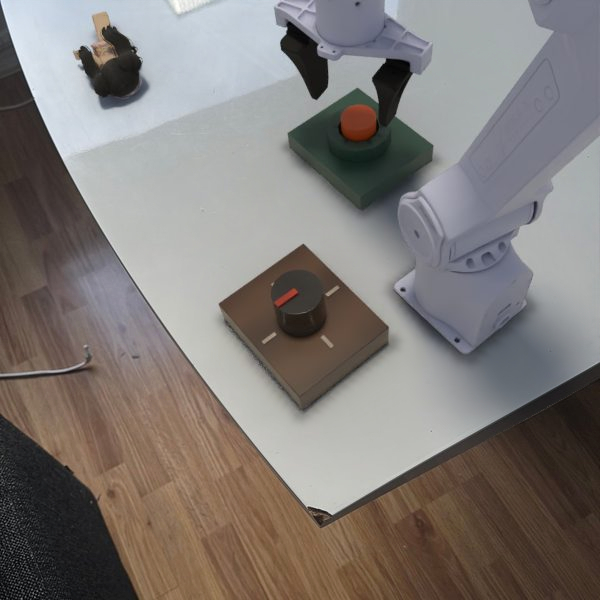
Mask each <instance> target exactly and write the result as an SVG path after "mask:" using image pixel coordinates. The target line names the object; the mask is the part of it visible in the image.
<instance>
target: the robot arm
mask: <svg viewBox="0 0 600 600" xmlns="http://www.w3.org/2000/svg"><path fill="white" fill-rule="evenodd" d="M527 1H528V5H529V7H530V11H531V14H532V16H533V19H534V23H535V24H536V26H537V27H540V28H543V29H546V30H549V31H553V32H552V33H551V34H550V36H549V37H548V39H547V40H546V41H545V43H544V44H543V45H542V47H541V48H540V49H539V51H538V53H537V54H536V55H535V56H534V57H533V59H532V60H531V62H530V63H529V65H528V66H527V67H526V69H525V70H524V71H523V73H522V74H521V76H519V78H518V80H517V81H516V82H515V84H514V85H513V87H512V88H511V89H510V91H509V92H508V94H507V95H506V96H505V98H504V99H503V100H502V102H501V103H500V104H499V106H498V107H497V108H496V109H495V111H494V112H493V114H492V115H491V117H490V118H489V120H487V122H486V124H485V125H484V126H483V128H482V129H481V130H480V131H479V133H478V134H477V136H476V137H475V138H474V140H473V141H472V143H471V144H470V145H469V146H468V148H467V150H466V151H465V152H464V153H463V155H462V156H461V157H460V159H459V160H458V161H457V162H456V163H455V164H454V165H452V166H450V167H449V168H447V169H446V170H445V171H443V172H442V173H440V174H439V175H437V176H436V177H434V178H433V179H431V180H430V181H427V183H425V184H424V185H422V186H421V187H420V188H419V189H417V190H415V191H408V192H405V193H404V194H403V195H401V197H400V198H399V202H398V208H397V221H398V225H399V229H400V232H401V234H402V237H403V239H404V241H405V243H406V245H407V247H408V248H409V250H410V251H411V253H412V254H413V255H414V256H415V258H416V260H415V261H416V263H415V267H414V269H412V270H411V271H410V272H408V273H406V275H404V276H403V277H402V278H401V279H399V280H398V281H396V282H395V283H394V285H393V290H394V291H395V292H396V294H397V295H399V296H400V297H401V298H402V299H403V300H404V301H405V302H406V303H407V304H408V305H409V306H411V308H412V309H414V310H415V311H416V312H417V313H418V314H419V315H420V316H421V317H422V318H423V319H424V320H425V321H427V323H428V324H429V325H431V327H432V328H434V329H435V330H436V331H437V332H438V333H439V334H440V335H441V336H442V337H443V338H444V339H446V341H448V343H449V344H451V345H452V346H453V347H454V348H455V349H456V350H457V351H459V353H460V354H462V355H469V354H470V353H472V352H473V351H475V349H476V348H477V347H479V346H480V345H481V344H483V343H484V342H485V341H486V340H487V339H488V338H490V337H491V336H492V335H493V334H494V333H496V332H497V331H498V330H500V329H501V328H502V327H504V325H506V324H507V323H508V322H509V321H510V320H511V319H512V318H514V317H515V316H516V315H517V314H519V313H520V312H522V310H523V309H525V308H526V306H527V300H526V297H527V294H528V291H529V289H530V286H531V284H532V281H533V278H534V271H533V270H532V269H531V268H530V267H529V266H528V265H527V264H526V262H524V261H523V259H521V257H520V255H519V254H518V253H517V251H516V250H515V248H514V246H513V243H512V240H513V239H515V238H516V237H518V235H519V231H520V229H521V227H523V226H526V225H531V224H533V223H534V222H536V221H538V219H539V218H540V217H541V215H542V212H543V207H544V202H545V200H546V198H547V196H548V195H549V194H551V193H552V192H553V191H554V189H555V187H554V184H553V180H552V179H553V178H554V177H556V175H557V174H558V173H560V171H562V170H563V169H564V168H566V167H567V166H568V164H570V163H571V162H572V161H573V160H574V159H575V158H576V157H578V156H579V155H580V154H582V152H583V151H585V150H586V149H587V148H588V147H589V146H590V145H591V144H592V143H593V142H594V141H596V140H597V139H598V138H599V137H600V0H527ZM385 3H386V0H278V2H277V3H276V4H275V5H274V6H273V10H274V17H275V24H276V26H278V27H281V28H286V30H285V34H284V36H282V38H281V39H280V41H279V45H280V46H279V47H280V51H281V52H282V53H283V54H285V56H287V57H288V59H289V60H290V61H291V62H292V64H293V65H294V66H295V68H296V69H297V71H298V73H299V74H300V76H301V78H302V80H303V82H304V84H305V87H306V89H307V91H308V93H309V95H310V97H311V99H313V100H315V101H318V100H319V99H320V97H321V96H322V95H323V94H324V93H325V91H326V90H327V89H328V87H329V78H330V76H329V75H330V73H329V60H330V61H331V62H332V61H333V62H335V61H339V60H340V59H341V58H342V57H343V56H350V57H351V56H352V57H365V58H375V59H385V62H383V63H382V64H381V66H380V67H379V68H378V70H377V71H376V72H375V73H374V74H373V75H372V77H371V82H372V84H373V86H374V89H375V92H376V94H377V100H378V102H377V103H379V110H378V119H379V124H380V125H382V126H384V127H387V126H388V124H389V123H390V122H391V120H392V119H393V118H394V116H396V115H397V113H398V109H399V104H400V102H401V99H402V97H403V94H404V91H405V89H406V87H407V86H408V83H409V81H410V80H411V77H413V74H416V75H418V76H421V75H422V74H423V73H424V72H425V71H426V69H427V68H428V67H429V65H430V64H431V62H432V58H433V48H434V47H433V46H434V42H433V41H431V40H428V39H426V38H423V37H421V36H420V35H418V34H416V33H414V32H413V31H411V30H410V29H409V28H407V27H406V26H404V25H403V24H402V23H400V22H399V21H397V20H396V19H395V18H394V17H392V16H391V15H389V14H388V13H386V12H385V11H386V9H385V6H386V4H385ZM402 290H404V291H402ZM455 340H457V341H459V342H457V341H455Z"/></svg>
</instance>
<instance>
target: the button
mask: <svg viewBox="0 0 600 600" xmlns="http://www.w3.org/2000/svg"><path fill="white" fill-rule="evenodd" d="M341 131H342V134H343V136H344V137H345V138H346V139H348V140H350V141H354V142H361V141H366V140H368V139H370V138H371V137H372V136H373V135H374V134H375V132H376V114H375V112H374V110H373V109H372V108H370V107H368V106H365V105H353V106H350V107H348V108H347V109H345V110H344V111H343V113H342V115H341Z"/></svg>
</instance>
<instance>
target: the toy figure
mask: <svg viewBox="0 0 600 600" xmlns="http://www.w3.org/2000/svg"><path fill="white" fill-rule="evenodd" d="M91 19H92V22H93V25H94V26H93V27H94V29H95V32H96V37H97V41H98V42H95V43H92V44H91V45H90V47H91V49H92V50H91V49H90V47H88V46H87V45H84V44H83V45H80V47H79V49H77V50H75V49H73V50H72V54H73V56H74V57H75V60H76V61H81V66H82V69H83V70H84V73H85V75H86V76H87V77H89V78H90V79H91V80H92V82H91V84H92V86H93V90H94V93H95V94H96V95H98V98H100V99H104V98H108V97H109V96H112V97H115V98H118V99H122V100H125V99H128V98H130V97H131V96H132V95H134V94H135V93H136V92H138V90H140V88H141V86H142V82H143V81H142V76H141V74H140V70H141V69H142V65H143V58H142V57H141V56H139V55H138V54H137V52H138V50H139V49H138V47H136V46H135V45H134V44H133V42H131V39H130V38H129V37H128V36H126V35H124V33H122V32H120V31H119V30H118V28H117V27H116V26H115V25H112V24H111V20H110V18H109V14H108V12H107V11H102V12H101V11H100V12H98V13H94V14H92V15H91ZM92 51H93V52H92Z"/></svg>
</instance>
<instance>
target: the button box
mask: <svg viewBox="0 0 600 600" xmlns="http://www.w3.org/2000/svg"><path fill="white" fill-rule="evenodd" d="M353 105H365V106H368V107H370V108H372V109H373V110H374V112H375V114H376V132H375V134H374V135H373V136H372V137H371V138H370V139H368V140H366V141H361V142H354V141H350V140H348V139H346V138H345V137H344V136H343V134H342V131H341V115H342V113H343V111H344V110H345V109H347V108H348V107H350V106H353ZM378 110H379V102H377V101H376V100H375V99H374V98H372V97H371V96H370V95H369V94H367V93H366V92H365V91H363V90H361V88H359V87H356V88H355V89H353V90H351V91H350V92H348V93H346V94H344V96H342V97H341V98H339V99H338V100H336V101H334V102H333V103H331V104H330V105H328V106H327V107H325V108H323V109H322V110H320V111H319V112H318V113H316V114H314V115H313V116H311V117H310V118H308V119H307V120H305V121H304V122H302V123H301V124H299V125H298V126H296V127H295V128H293V129H291V130H290V131H288V132H287V140H288V147H289V149H291V150H292V151H293V152H294V153H295V154H296V155H298V157H299V158H301V159H302V160H303V161H304V162H306V164H308V165H309V166H310V167H311V168H312V169H314V170H315V171H316V172H317V174H319V175H320V176H321V177H323V179H325V180H326V181H327V182H328V183H329V184H330V185H331V186H332V187H334V188H335V189H336V190H337V191H338V192H339V193H340V194H342V195H343V196H344V197H345V198H346V199H347V200H349V202H350V203H352V205H354V206H355V207H356V208H357V209H359V210H360V211H363V210H364V209H365V208H367V207H368V206H369V205H371V204H372V203H374V202H375V201H377V200H378V199H379V198H381V197H383V196H384V195H385V194H387V193H388V192H389V191H390V190H392V189H393V188H395V187H396V186H397V185H399V184H400V183H402V182H403V181H405V180H406V179H408V178H409V177H410V176H411V175H413V174H414V173H416V172H417V171H418V170H420V169H422V168H423V167H424V166H426V165H427V164H429V163H430V162H431V161H432V160H433V155H434V144H432V143H431V142H430V141H429V140H428V139H426V138H425V137H423V136H422V135H421V134H419V132H417V131H415V130H414V129H413V128H411V127H410V126H409V125H408V124H406V123H405V122H404V121H402V120H401V119H400V118H398V117H397V116H396V115H395V116H394V118H393V119H392V120H391V122H390V123H389V124H388V126H387V127H384V126H382V125H380V124H379V119H378Z"/></svg>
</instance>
